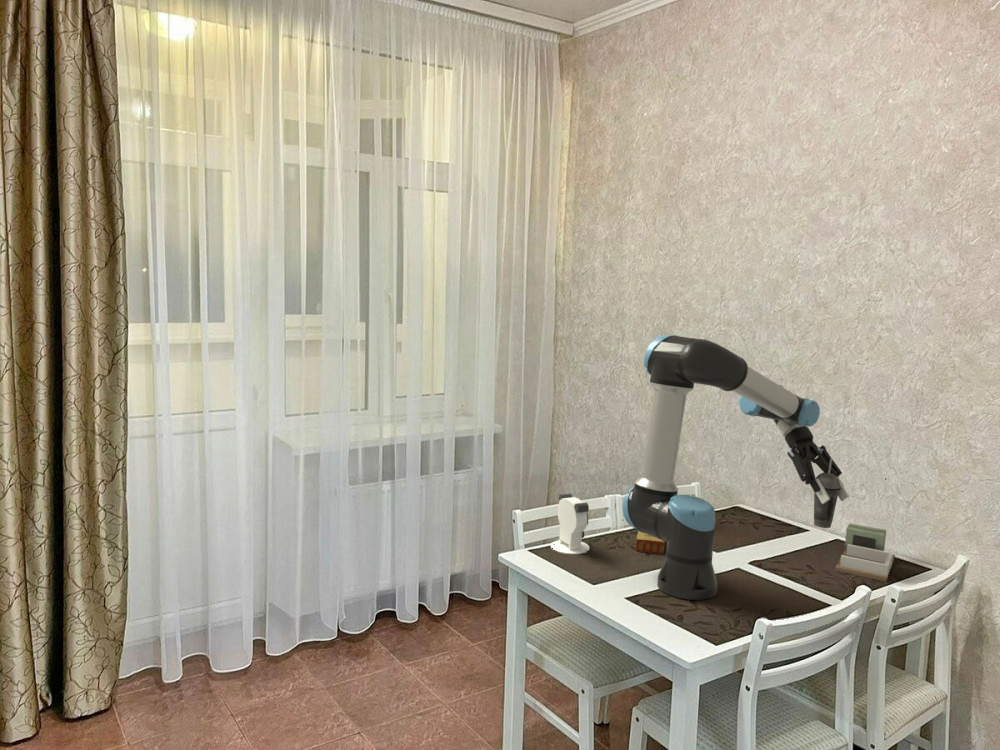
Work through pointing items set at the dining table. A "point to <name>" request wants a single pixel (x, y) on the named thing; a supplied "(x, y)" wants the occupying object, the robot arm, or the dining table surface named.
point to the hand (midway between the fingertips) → (835, 499)
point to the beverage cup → (826, 510)
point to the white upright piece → (571, 525)
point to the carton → (649, 543)
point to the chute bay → (865, 564)
